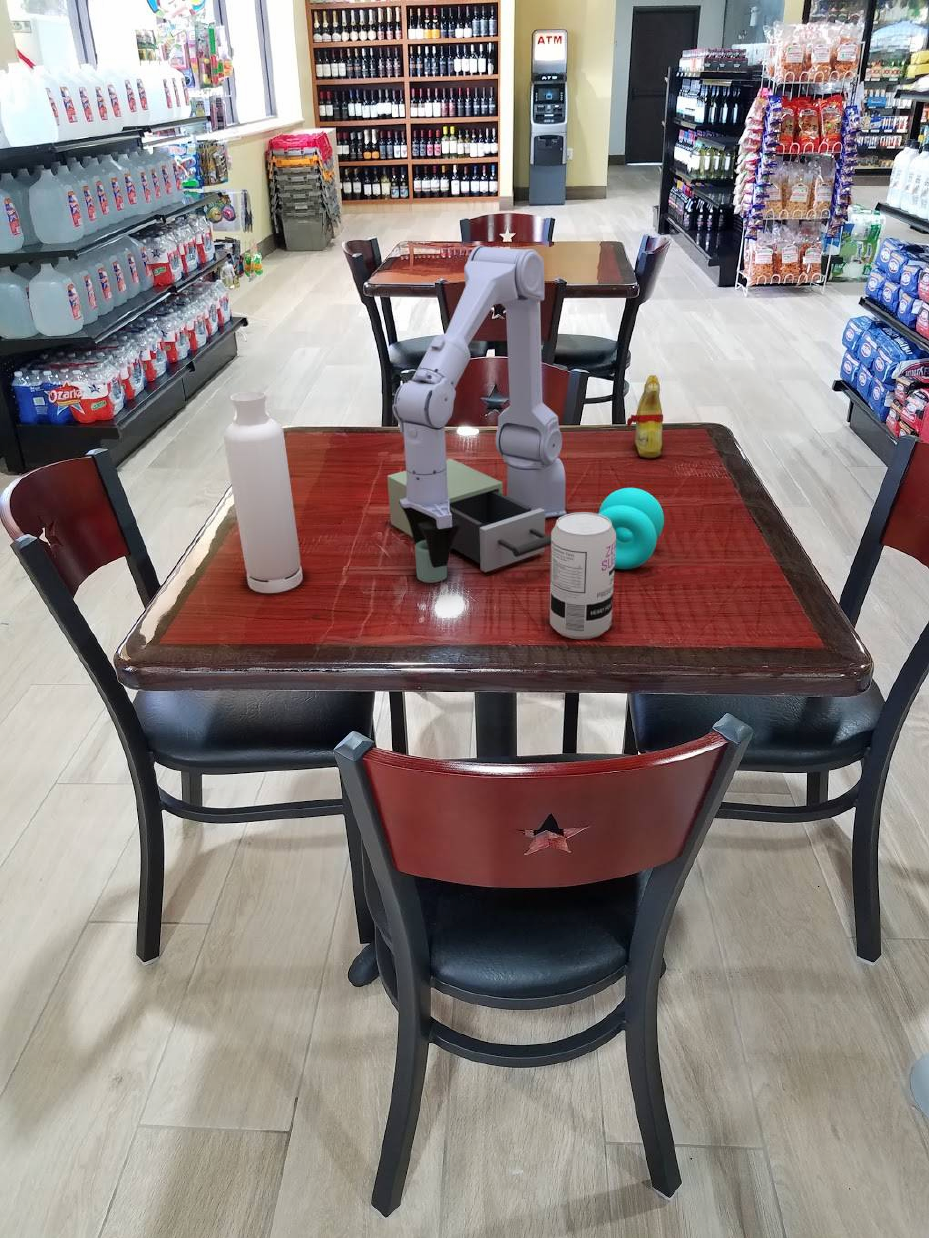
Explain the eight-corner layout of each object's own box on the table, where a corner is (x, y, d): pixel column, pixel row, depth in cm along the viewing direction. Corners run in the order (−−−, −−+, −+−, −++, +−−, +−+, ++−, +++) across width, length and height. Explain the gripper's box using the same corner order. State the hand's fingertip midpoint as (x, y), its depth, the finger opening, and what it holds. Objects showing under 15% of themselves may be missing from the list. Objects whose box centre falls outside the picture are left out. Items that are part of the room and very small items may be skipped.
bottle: (306, 587, 137) (281, 400, 123) (250, 596, 135) (219, 407, 121) (298, 564, 143) (274, 384, 130) (245, 572, 142) (215, 391, 128)
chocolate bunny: (657, 441, 188) (663, 366, 180) (664, 460, 178) (670, 382, 171) (623, 441, 188) (627, 367, 181) (628, 460, 179) (632, 383, 171)
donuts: (662, 548, 145) (667, 488, 140) (652, 576, 136) (657, 513, 131) (599, 541, 148) (602, 482, 143) (585, 568, 139) (587, 506, 134)
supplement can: (544, 613, 128) (546, 512, 120) (604, 609, 128) (609, 508, 121) (554, 643, 121) (556, 538, 113) (617, 639, 121) (623, 534, 114)
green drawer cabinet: (503, 532, 152) (502, 482, 147) (439, 553, 146) (437, 502, 141) (452, 505, 162) (450, 458, 158) (390, 524, 156) (387, 475, 152)
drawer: (566, 562, 139) (567, 520, 136) (506, 584, 134) (505, 541, 130) (492, 523, 153) (491, 484, 149) (434, 542, 147) (432, 502, 144)
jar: (442, 567, 141) (441, 537, 139) (450, 580, 137) (449, 549, 135) (414, 571, 140) (412, 541, 138) (420, 584, 136) (419, 554, 134)
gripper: (384, 456, 135) (390, 541, 142) (415, 489, 123) (420, 580, 130) (430, 448, 137) (434, 532, 144) (465, 481, 125) (467, 571, 132)
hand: (431, 555), depth 137 cm, fingers open, 7 cm apart
